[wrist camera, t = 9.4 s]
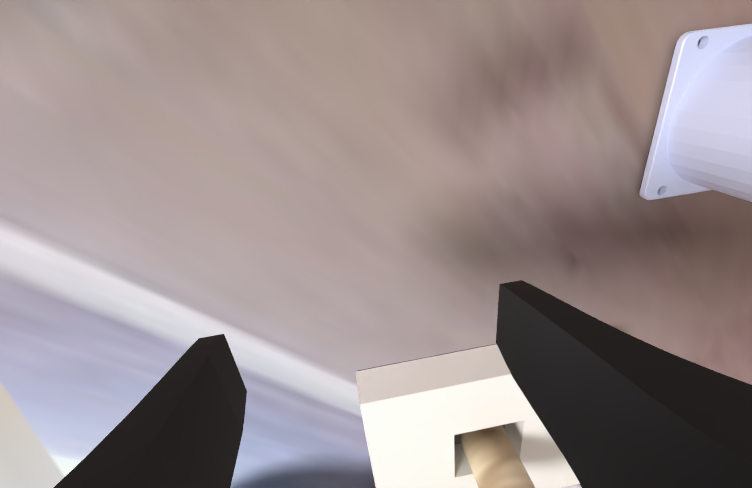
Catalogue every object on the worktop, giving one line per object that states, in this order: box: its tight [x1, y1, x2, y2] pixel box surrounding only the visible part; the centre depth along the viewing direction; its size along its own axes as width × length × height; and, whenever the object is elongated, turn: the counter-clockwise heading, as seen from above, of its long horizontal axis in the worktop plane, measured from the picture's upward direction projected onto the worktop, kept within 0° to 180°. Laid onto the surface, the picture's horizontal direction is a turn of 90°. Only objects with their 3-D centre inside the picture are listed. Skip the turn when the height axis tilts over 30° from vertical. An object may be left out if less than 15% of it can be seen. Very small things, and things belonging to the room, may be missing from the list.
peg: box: [458, 425, 535, 488], centre depth 23 cm, size 3×3×8 cm
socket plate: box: [356, 344, 579, 488], centre depth 25 cm, size 16×14×2 cm
